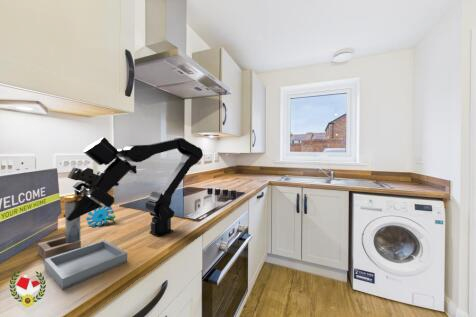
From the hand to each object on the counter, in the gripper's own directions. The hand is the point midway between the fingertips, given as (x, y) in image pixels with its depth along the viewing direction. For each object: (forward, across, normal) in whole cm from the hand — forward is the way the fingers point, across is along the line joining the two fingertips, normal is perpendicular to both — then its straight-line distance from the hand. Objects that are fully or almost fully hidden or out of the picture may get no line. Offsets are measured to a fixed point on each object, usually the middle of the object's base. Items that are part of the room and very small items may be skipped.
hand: (66, 218), depth 53 cm
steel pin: (+4, 0, +6) cm, 7 cm away
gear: (-2, -27, +20) cm, 34 cm away
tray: (+6, +5, +11) cm, 14 cm away
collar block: (+9, -10, +9) cm, 16 cm away
